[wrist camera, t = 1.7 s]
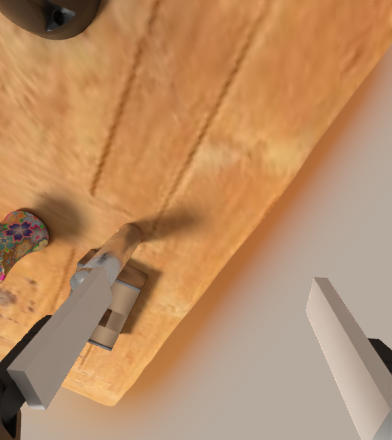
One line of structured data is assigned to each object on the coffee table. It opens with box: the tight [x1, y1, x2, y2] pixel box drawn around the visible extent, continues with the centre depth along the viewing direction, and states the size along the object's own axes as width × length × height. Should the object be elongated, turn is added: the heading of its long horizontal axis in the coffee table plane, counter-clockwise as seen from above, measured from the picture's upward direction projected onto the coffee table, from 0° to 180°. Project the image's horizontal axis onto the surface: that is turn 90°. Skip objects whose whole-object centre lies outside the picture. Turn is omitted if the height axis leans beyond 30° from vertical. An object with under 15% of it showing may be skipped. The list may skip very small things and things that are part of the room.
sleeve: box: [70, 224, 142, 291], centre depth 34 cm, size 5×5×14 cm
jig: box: [69, 250, 148, 351], centre depth 45 cm, size 12×20×4 cm, turn 154°
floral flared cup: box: [0, 211, 49, 283], centre depth 38 cm, size 12×9×11 cm
